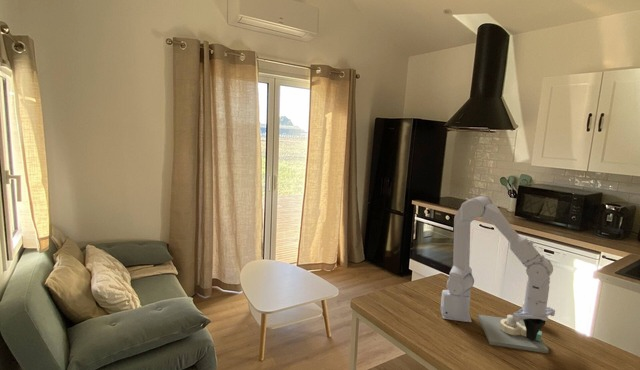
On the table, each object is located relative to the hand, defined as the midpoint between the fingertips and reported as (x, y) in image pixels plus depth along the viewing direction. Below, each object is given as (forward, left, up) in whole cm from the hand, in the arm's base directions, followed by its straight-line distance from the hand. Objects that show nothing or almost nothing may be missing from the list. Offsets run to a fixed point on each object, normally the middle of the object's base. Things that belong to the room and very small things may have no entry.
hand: (530, 338), depth 103 cm
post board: (-4, +4, -2) cm, 6 cm away
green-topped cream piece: (-2, +3, 0) cm, 4 cm away
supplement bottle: (+5, +15, -2) cm, 16 cm away
